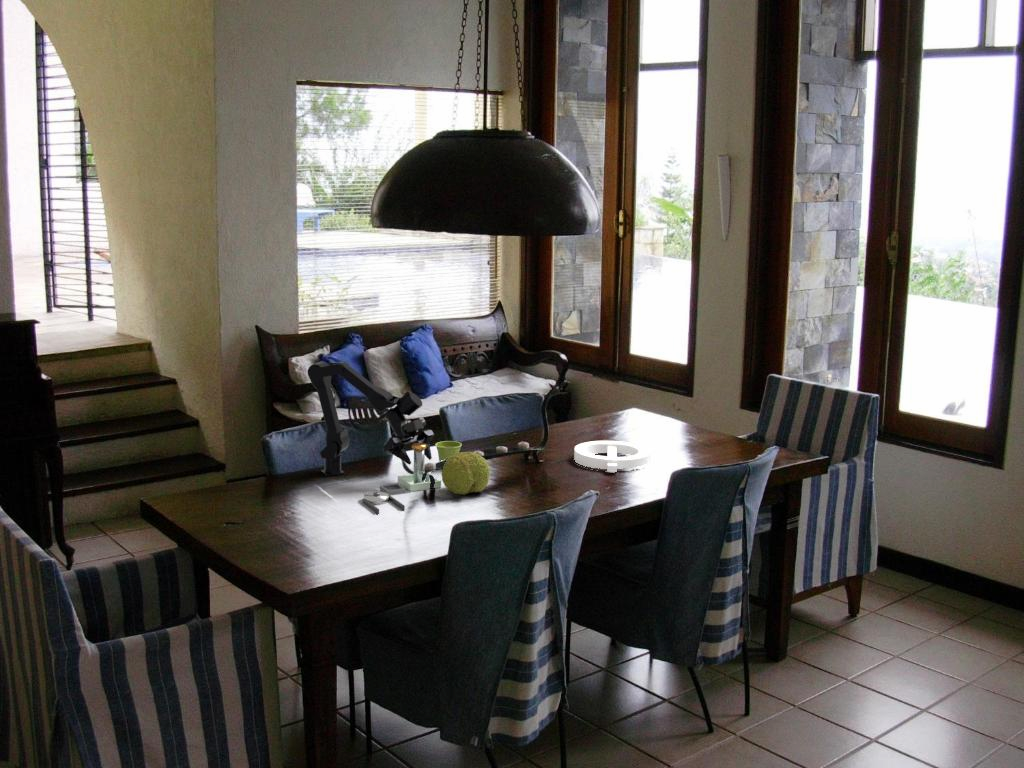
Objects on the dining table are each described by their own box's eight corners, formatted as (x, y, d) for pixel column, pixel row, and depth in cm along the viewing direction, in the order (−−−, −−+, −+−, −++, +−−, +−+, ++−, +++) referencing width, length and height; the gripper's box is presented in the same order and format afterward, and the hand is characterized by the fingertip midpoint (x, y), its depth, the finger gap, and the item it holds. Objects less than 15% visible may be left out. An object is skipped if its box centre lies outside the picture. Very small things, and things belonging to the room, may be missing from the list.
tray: (397, 484, 382) (397, 476, 382) (427, 481, 388) (427, 472, 387) (410, 493, 373) (410, 484, 372) (440, 489, 378) (440, 480, 378)
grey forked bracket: (358, 500, 364) (358, 491, 363) (385, 497, 368) (385, 487, 367) (376, 515, 350) (376, 505, 349) (404, 511, 354) (404, 501, 354)
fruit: (472, 503, 364) (450, 462, 362) (447, 508, 375) (426, 469, 373) (505, 478, 374) (484, 439, 372) (480, 484, 385) (459, 446, 384)
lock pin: (409, 483, 381) (409, 443, 378) (422, 481, 383) (422, 442, 380) (415, 487, 377) (415, 447, 374) (428, 485, 379) (428, 445, 376)
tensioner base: (374, 490, 375) (374, 485, 375) (399, 487, 380) (399, 482, 379) (385, 497, 368) (385, 492, 367) (410, 494, 372) (410, 489, 372)
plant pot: (449, 472, 399) (450, 448, 397) (429, 467, 404) (430, 444, 402) (466, 467, 406) (467, 444, 404) (446, 462, 411) (447, 439, 410)
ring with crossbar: (611, 448, 438) (612, 437, 437) (665, 464, 417) (666, 452, 416) (558, 459, 420) (558, 447, 419) (611, 477, 399) (612, 464, 398)
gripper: (389, 414, 372) (411, 453, 366) (431, 406, 385) (452, 443, 380) (373, 432, 378) (395, 471, 373) (415, 424, 392) (436, 461, 387)
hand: (420, 461), depth 378 cm, fingers open, 9 cm apart
